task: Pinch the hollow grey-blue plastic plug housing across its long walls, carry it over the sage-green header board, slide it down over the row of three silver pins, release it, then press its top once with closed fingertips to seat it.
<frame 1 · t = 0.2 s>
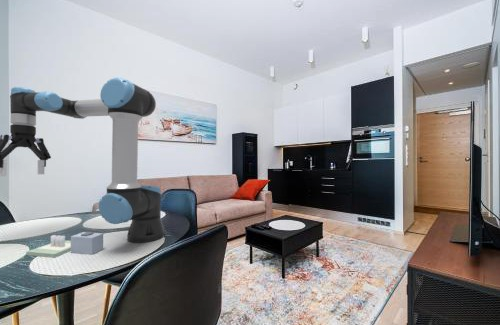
hand: (23, 175, 92), 28 cm above the table, fingers open, 13 cm apart
header: (57, 249, 83), on the table
plug: (87, 250, 82), on the table
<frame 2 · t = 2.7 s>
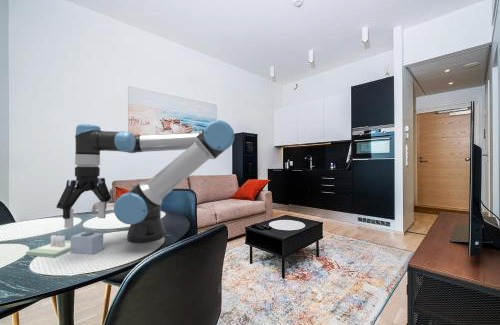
hand: (86, 222, 82), 11 cm above the table, fingers open, 13 cm apart
nothing on the table moved.
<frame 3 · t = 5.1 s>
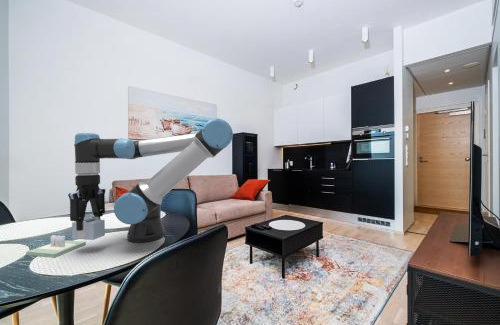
hand: (89, 236, 82), 6 cm above the table, fingers closed on plug, 5 cm apart
plug: (88, 237, 82), point 5 cm above the table, touching gripper
everything else where it was.
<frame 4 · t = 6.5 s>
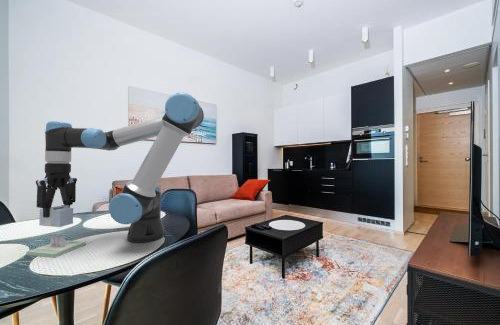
hand: (56, 223, 83), 10 cm above the table, fingers closed on plug, 5 cm apart
plug: (56, 224, 83), point 10 cm above the table, touching gripper
everything else where it was.
when the fingers open (2 cm above the table, at t = 7.9 s): plug stays where it is, resting on header.
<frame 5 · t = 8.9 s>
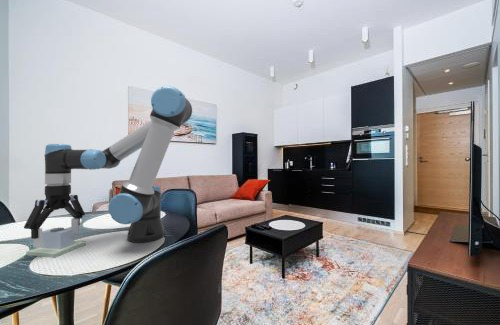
hand: (57, 240, 83), 4 cm above the table, fingers open, 13 cm apart
plug: (57, 246, 83), point 1 cm above the table, touching header
everything else where it was.
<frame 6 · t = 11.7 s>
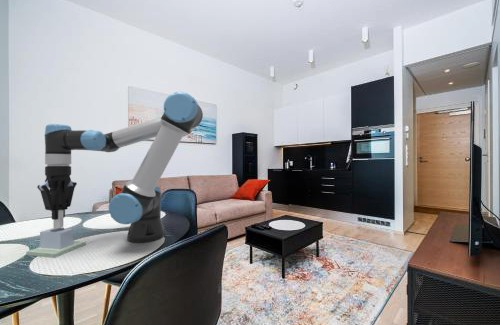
hand: (58, 227, 83), 9 cm above the table, fingers closed
nothing on the table moved.
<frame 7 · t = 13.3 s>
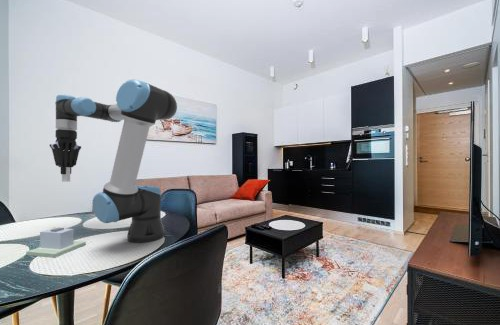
hand: (65, 181, 100), 25 cm above the table, fingers closed
nothing on the table moved.
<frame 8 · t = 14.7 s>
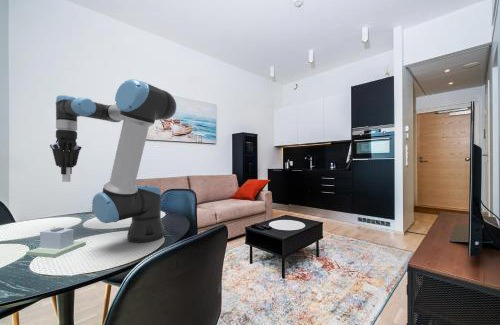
hand: (66, 181, 100), 24 cm above the table, fingers closed
nothing on the table moved.
at the end: plug 0.3 cm off-centre on the header, point 1.3 cm above the header's base; plug tilted 0°; the gripper is holding nothing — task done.
